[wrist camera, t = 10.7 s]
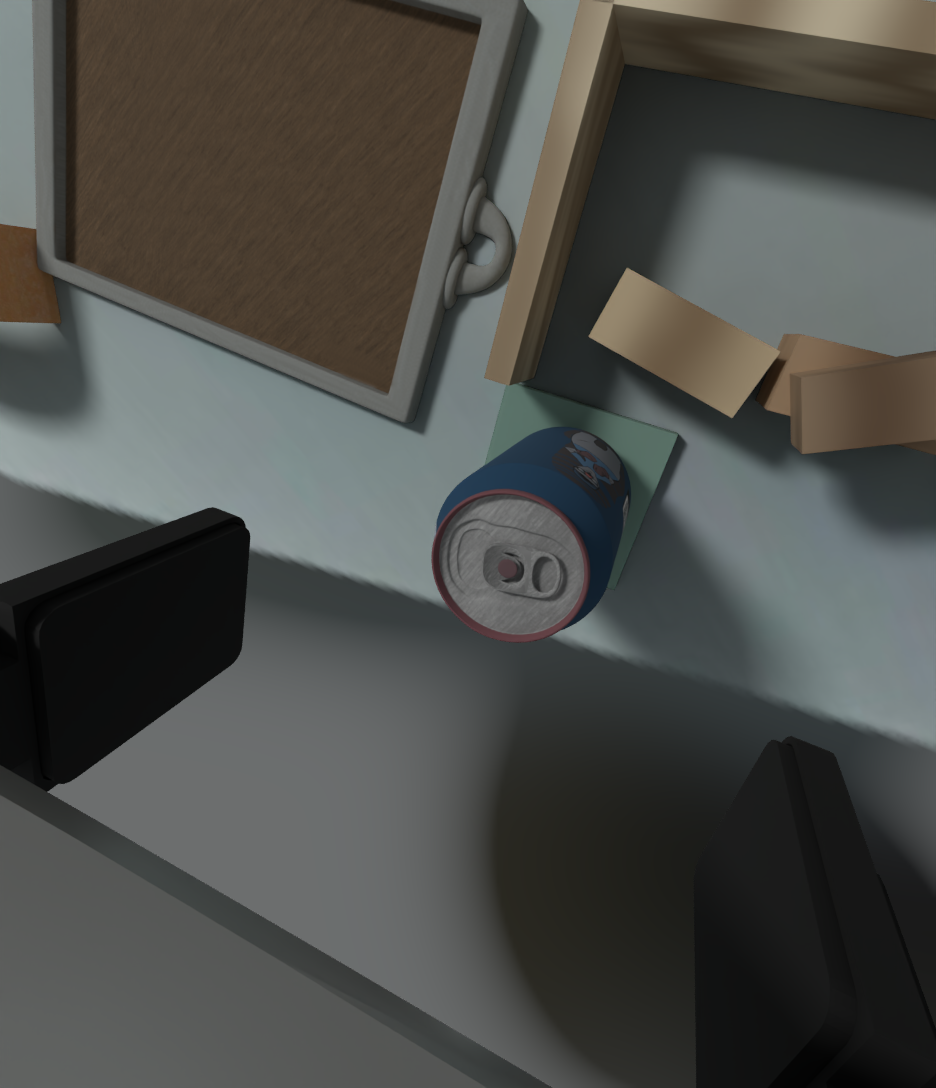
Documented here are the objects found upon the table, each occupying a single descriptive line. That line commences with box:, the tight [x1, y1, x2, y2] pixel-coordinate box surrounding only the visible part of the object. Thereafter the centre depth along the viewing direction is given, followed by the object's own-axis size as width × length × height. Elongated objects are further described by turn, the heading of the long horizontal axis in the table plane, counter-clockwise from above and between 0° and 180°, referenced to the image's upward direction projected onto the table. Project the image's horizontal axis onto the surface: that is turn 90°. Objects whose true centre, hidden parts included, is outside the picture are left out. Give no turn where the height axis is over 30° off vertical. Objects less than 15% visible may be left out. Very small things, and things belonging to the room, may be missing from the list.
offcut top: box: [790, 351, 936, 454], centre depth 21 cm, size 6×3×2 cm, turn 100°
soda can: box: [432, 427, 631, 643], centre depth 25 cm, size 7×7×12 cm
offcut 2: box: [756, 334, 936, 455], centre depth 24 cm, size 7×3×4 cm, turn 76°
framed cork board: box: [32, 0, 528, 423], centre depth 31 cm, size 19×2×30 cm
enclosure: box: [484, 0, 936, 386], centre depth 22 cm, size 23×15×5 cm, turn 74°
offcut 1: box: [588, 268, 780, 418], centre depth 25 cm, size 7×3×4 cm, turn 62°
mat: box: [485, 383, 678, 590], centre depth 31 cm, size 9×9×1 cm
